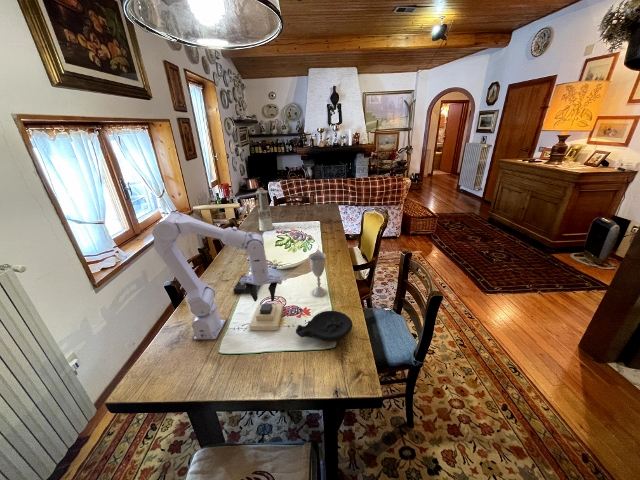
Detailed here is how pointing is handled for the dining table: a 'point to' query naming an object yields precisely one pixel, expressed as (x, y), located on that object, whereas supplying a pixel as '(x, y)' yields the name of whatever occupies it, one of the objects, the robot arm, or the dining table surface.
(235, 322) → the dining table surface
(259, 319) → the stepped cream base
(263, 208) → the lamp
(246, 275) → the dial
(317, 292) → the chalice
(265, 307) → the switch
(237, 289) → the browning panel
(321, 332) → the oil lamp
